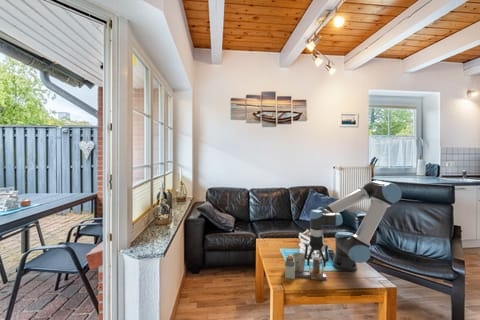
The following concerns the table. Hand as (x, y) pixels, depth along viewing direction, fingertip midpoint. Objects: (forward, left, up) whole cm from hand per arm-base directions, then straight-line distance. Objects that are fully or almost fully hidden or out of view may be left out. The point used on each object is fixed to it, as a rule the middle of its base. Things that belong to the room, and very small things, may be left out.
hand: (316, 271), depth 143 cm
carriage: (0, 0, -4) cm, 4 cm away
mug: (+12, -7, -4) cm, 15 cm away
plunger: (+16, 0, +6) cm, 17 cm away
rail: (+4, 0, -4) cm, 5 cm away
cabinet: (+16, 0, -4) cm, 17 cm away
